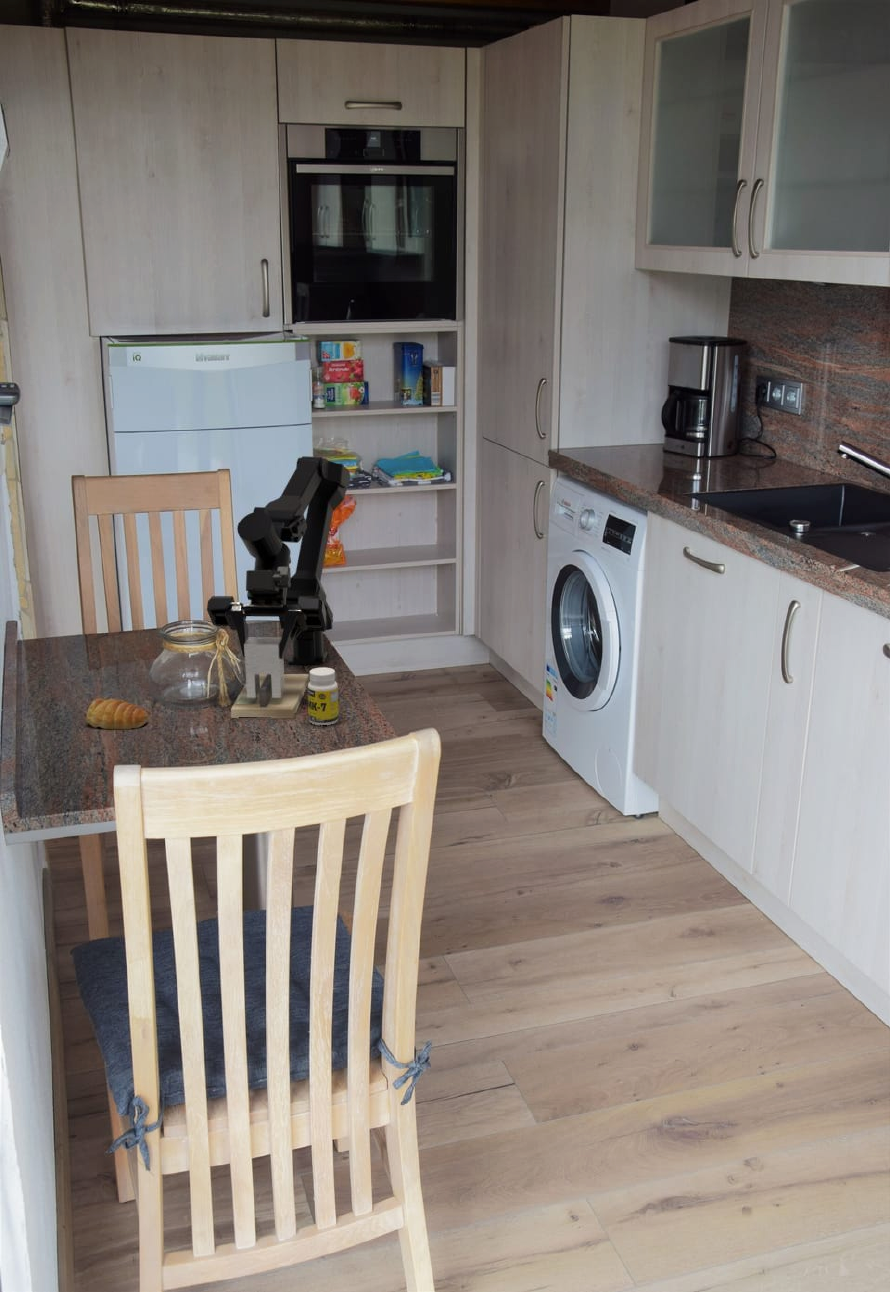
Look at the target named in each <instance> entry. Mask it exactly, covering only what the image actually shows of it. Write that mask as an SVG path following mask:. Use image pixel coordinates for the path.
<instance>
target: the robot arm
mask: <svg viewBox="0 0 890 1292" xmlns="http://www.w3.org/2000/svg"><path fill="white" fill-rule="evenodd" d="M350 484H351V472H350V469H348V468H347V466H346V467H345V465H344V463H339V462H334V461H331V460H329V459H327V458H325V457H323V456H308V455H307V456H305V455H304V456H303V455H302V456H301V457H298V458H297V460H296V468H295V469H294V471H293V473H292V475H291V476H290V478H289V480H288V482H287V484H286V485H285V487H284V489H283V491H282V493H281V494H280V496H279V497H278V498H275V499H274V500H272V501H269V502H268V503H267V504H266V505H265V506H262V507H261V506H260V507H259V506H255V507H253V512H251V513H248V514H247V515H245V516H244V517H243V518H241V520H240V521H239V522H238V524H237V528H236V529H237V534H238V535H239V538H240V539H241V541H242V543H243V545H244V546H245V548H246V549H247V551H248V553H249V555H250V556H251V557H252V558H255V559H254V568H253V569H252V570H251V569H250V570H246V572H245V573H246V576H245V591H246V592H247V596H246V597H247V599H248V601H250V604H248V603H247V604H245V603H242V602H238V601H235V599H234V596H233V595H227V596H226V595H212V596H211V597H210V598H209V599H208V601H207V606H206V611H207V613H208V617H209V618H210V621H211V624H212V625H213V626H215V627H228V628H229V629H230V630H231V631H236V632H237V637H238V640H239V641H238V642H239V645H240V650H241V653H242V654H241V655H242V657H243V659H244V660H245V653H244V644H245V642H246V641H247V639H248V637H249V626H248V623H247V621H246V619H247V617H263V618H264V617H269V618H271V617H272V618H273V617H276V618H277V617H278V619H279V626H280V629H281V630H282V635H281V637H282V638H281V644H280V653H279V657H280V659H283V660H284V657H285V656H286V654H287V652H288V650H289V648H290V647H291V652H292V653H290V654H291V655H290V656H289V658H288V660H287V662H288V663H287V664H289V665H323V664H324V663H325V660H326V658H327V656H328V651H326V650H324V635H323V632H324V633H325V632H326V631H329V630H333V622H334V619H333V617H334V613H333V611H332V609H331V608H330V605H329V604H328V602H327V594H326V591H325V589H324V587H323V585H322V583H321V580H322V575H323V569H324V563H325V557H326V554H327V553H326V552H327V546H328V542H329V541H328V540H329V536H330V531H331V525H332V519H333V514H334V510H336V508H338V507H339V505H340V504H341V503H342V502H343V501H344V500H345V497H346V493H347V489H348V488H349V487H350ZM305 512H306V516H305ZM300 541H301V542H300ZM299 542H300V547H299V553H298V559H297V564H296V568H295V573H294V574H293V575H291V574H292V573H291V567H290V564H291V563H292V558H291V549H290V548H289V546H288V545H287V543H288V544H289V543H293V544H298V543H299Z"/></svg>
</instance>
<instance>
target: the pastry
mask: <svg viewBox="0 0 890 1292" xmlns="http://www.w3.org/2000/svg"><path fill="white" fill-rule="evenodd" d="M148 719H149V713H148V711H146V710H145V709H143V708H142V707H141V706H139V705H135V704H134V703H130V702H126V701H125V700H124V699H118V700H117V699H115V698H109V699H107V700H106V699H104V698H97V699H94V700H93V701H92V702H91V703H90V705H89V706H88V709H87V712H86V717H85V721H86V723H88V725H90V726H91V727H92V728H96V729H97V728H99V727H100V728H102V729H103V730H131V729H136V728H138V729H139V728H140V727H142V726H144V725H145V724H146V723H147V722H148Z"/></svg>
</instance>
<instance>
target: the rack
mask: <svg viewBox="0 0 890 1292" xmlns="http://www.w3.org/2000/svg"><path fill="white" fill-rule="evenodd" d="M309 677H310V673H284V681H285V690H284V692H283V695H282V697H281V698H272V681H271V674H259V678H260V689H259V692H258V694H257V696H256V698H247V688H246V683H245V684H244V686H243V688H242V690H241V691H240V693H239V695H238V696H237V698H236V700H235V701H234V703H233V704H232V706H231V709H230V717H231V719H240V718H239V717H271V718H270V719H294V718H295V717H296V714H295V713H297V712H298V709H299V707H298V706H300V704H301V702H302V700H301V699H303V698H304V695H305V693H306V691H305V690H307V688H308V686H307V685H308V683H309V682H310V678H309ZM306 687H307V688H306ZM304 692H305V693H304ZM302 697H303V698H302ZM300 701H301V702H300Z"/></svg>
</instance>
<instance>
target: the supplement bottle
mask: <svg viewBox="0 0 890 1292" xmlns="http://www.w3.org/2000/svg"><path fill="white" fill-rule="evenodd" d="M307 705H308V706H307V707H308V709H307V710H308V711H307V712H308V722H309V723H310V724H311V723H312V725H314V724H315V725H314V726H320V725H321V726H320V727H322V725H327V726H331V724H332V725H334V724H336V723H337V722H338V721H339V686H338V683H337V681H336V671H335V669H333V668H330V667H316V668H312V669H311V670H309V683H308V686H307Z"/></svg>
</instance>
